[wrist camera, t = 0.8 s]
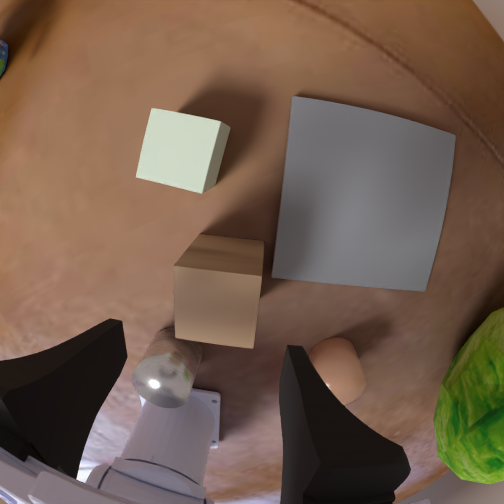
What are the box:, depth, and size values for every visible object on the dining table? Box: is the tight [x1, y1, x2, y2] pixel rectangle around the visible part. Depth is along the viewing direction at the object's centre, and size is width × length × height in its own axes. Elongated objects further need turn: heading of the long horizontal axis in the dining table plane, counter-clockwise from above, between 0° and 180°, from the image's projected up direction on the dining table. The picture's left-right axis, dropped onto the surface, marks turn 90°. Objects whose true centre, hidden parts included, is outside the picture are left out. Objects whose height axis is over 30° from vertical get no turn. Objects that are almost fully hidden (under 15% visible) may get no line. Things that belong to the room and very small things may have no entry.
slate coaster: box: [272, 96, 456, 292], centre depth 19 cm, size 12×12×1 cm
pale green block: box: [136, 108, 231, 194], centre depth 17 cm, size 4×4×4 cm
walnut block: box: [174, 234, 264, 349], centre depth 18 cm, size 4×4×6 cm
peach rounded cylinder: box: [309, 337, 366, 405], centre depth 21 cm, size 4×4×4 cm
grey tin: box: [132, 328, 202, 408], centre depth 22 cm, size 4×4×5 cm
